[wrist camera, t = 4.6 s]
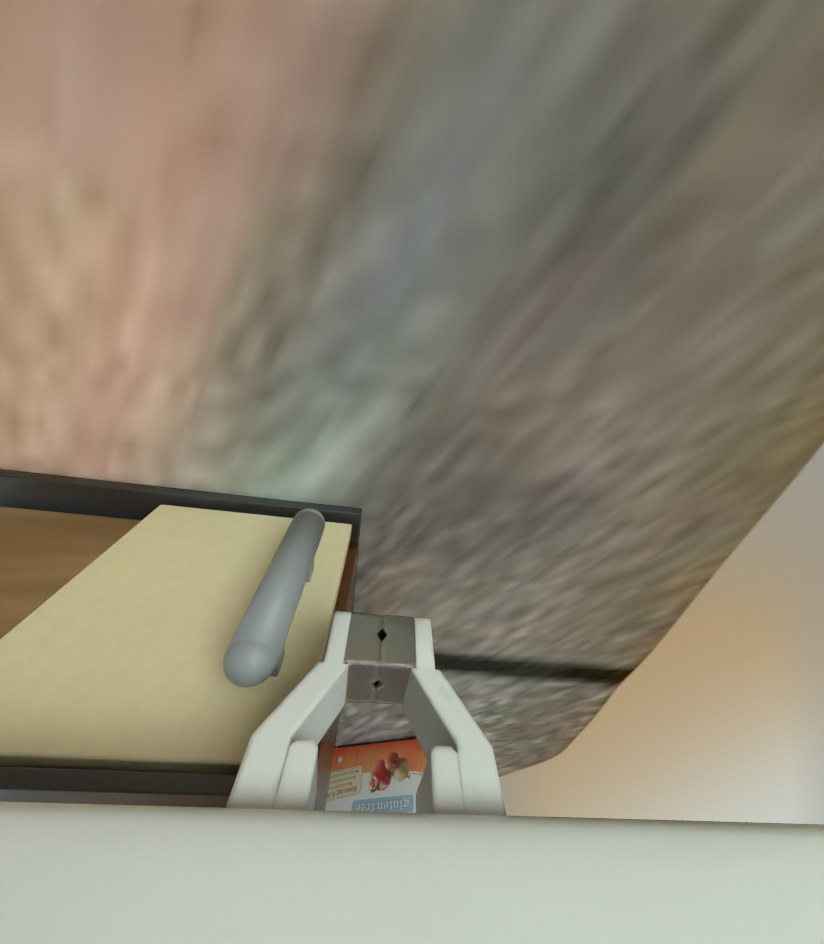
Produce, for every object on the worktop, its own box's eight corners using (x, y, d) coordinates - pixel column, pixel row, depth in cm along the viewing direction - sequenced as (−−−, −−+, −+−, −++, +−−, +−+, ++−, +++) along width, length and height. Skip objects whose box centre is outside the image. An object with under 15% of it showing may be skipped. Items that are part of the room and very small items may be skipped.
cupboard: (-24, 466, 17) (-786, 762, 6) (362, 508, 19) (304, 796, 8) (69, 643, 24) (-219, 937, 13) (348, 661, 25) (306, 934, 14)
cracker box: (457, 727, 30) (543, 1402, 12) (465, 757, 33) (544, 1342, 14) (312, 746, 31) (179, 1395, 13) (331, 774, 34) (245, 1341, 15)
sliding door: (149, 457, 16) (-220, 683, 6) (355, 481, 17) (293, 711, 7) (163, 516, 17) (-115, 765, 8) (351, 535, 18) (296, 780, 9)
